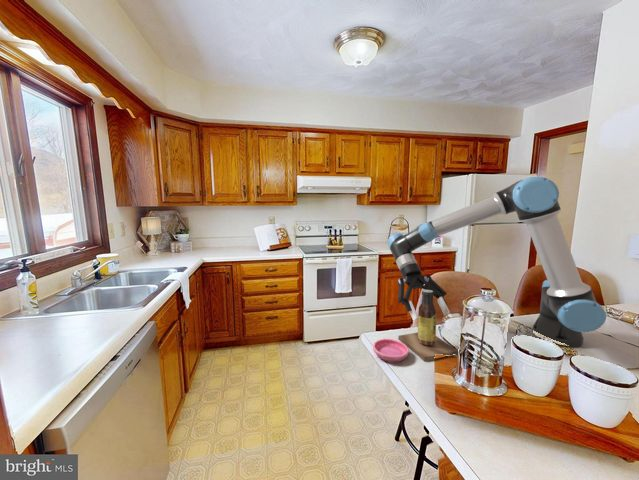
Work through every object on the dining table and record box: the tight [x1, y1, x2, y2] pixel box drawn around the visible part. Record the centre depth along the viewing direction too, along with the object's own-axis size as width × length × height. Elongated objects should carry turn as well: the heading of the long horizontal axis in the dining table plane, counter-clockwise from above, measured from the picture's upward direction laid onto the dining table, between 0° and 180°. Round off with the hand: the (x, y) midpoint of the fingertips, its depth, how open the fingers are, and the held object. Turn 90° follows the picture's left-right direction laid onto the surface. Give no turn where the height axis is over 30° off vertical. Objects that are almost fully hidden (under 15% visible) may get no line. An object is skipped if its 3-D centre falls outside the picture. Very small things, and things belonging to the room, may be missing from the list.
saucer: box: [372, 338, 410, 363], centre depth 97 cm, size 12×12×3 cm
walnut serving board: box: [397, 331, 459, 362], centre depth 102 cm, size 14×16×2 cm
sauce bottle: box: [417, 289, 437, 346], centre depth 101 cm, size 7×6×20 cm
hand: (432, 316), depth 98 cm, fingers open, 13 cm apart
